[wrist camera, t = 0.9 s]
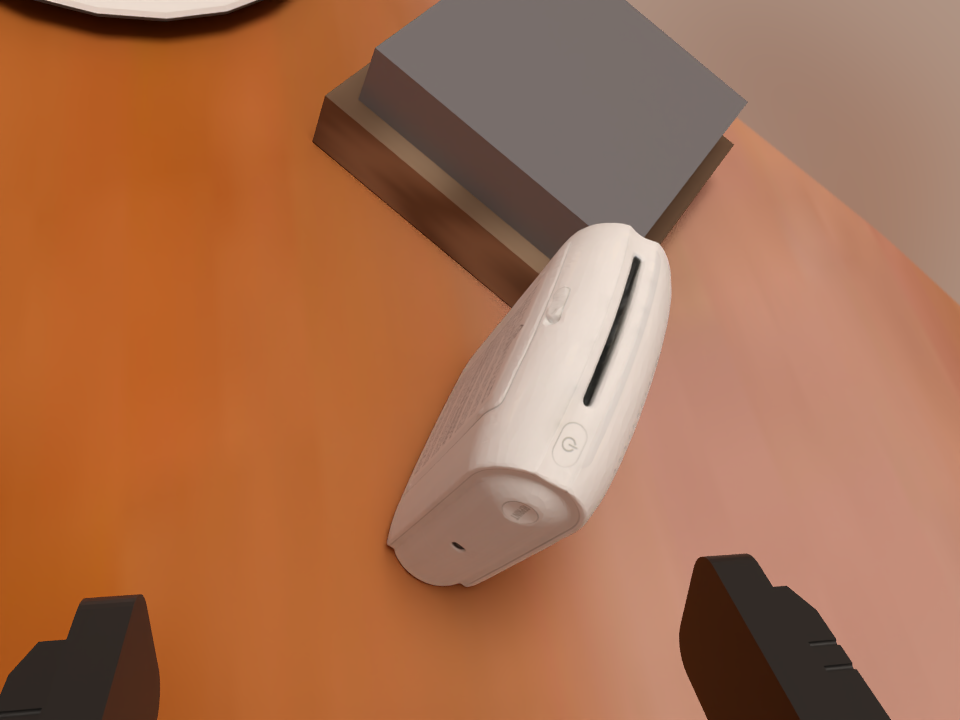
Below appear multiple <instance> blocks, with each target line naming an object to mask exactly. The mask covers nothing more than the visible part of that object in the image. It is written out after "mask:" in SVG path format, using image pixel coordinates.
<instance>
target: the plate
mask: <svg viewBox="0 0 960 720" xmlns="http://www.w3.org/2000/svg"><path fill="white" fill-rule="evenodd" d="M35 1H39V2H43V3H47V4H51V5H55V6H59V7H62V8H66V9H70V10H74V11H78V12H82V13H86V14H90V15H94V16H99V17H113V18H126V19H140V20H154V21H174V20H182V19H190V18H199V17H207V16H215V15H223V14H228V13H231V12H233V11H236V10H239V9H241V8H244V7H247V6H249V5H252V4H255V3H257V2H260V1H263V0H35Z"/></svg>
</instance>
